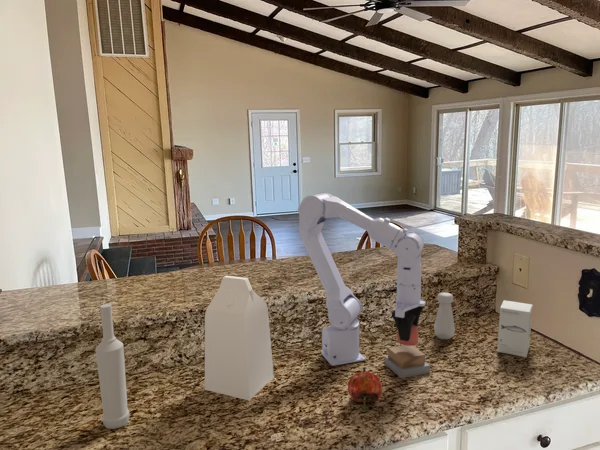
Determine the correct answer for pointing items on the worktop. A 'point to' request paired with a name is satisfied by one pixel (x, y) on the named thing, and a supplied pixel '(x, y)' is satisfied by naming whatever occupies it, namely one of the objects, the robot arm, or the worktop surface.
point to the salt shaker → (444, 317)
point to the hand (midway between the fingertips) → (407, 335)
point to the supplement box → (514, 328)
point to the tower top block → (406, 356)
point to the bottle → (111, 374)
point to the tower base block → (407, 369)
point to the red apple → (365, 387)
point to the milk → (237, 341)
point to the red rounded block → (411, 337)
